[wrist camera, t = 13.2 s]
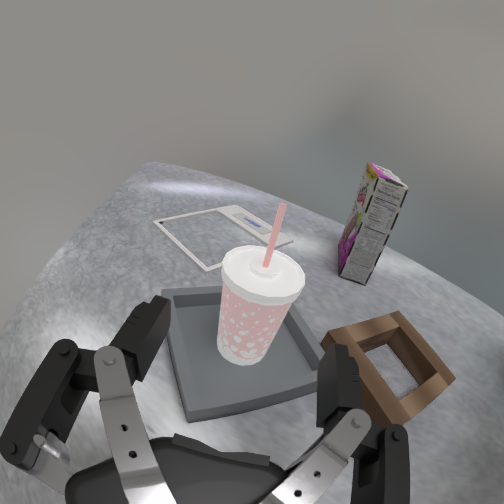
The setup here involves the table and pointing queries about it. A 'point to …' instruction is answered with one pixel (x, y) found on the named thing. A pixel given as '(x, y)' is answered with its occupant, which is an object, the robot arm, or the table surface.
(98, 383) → the robot arm
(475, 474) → the table surface
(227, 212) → the photo frame
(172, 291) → the tray
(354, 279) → the candy bar box
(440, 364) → the socket block
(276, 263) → the beverage cup
